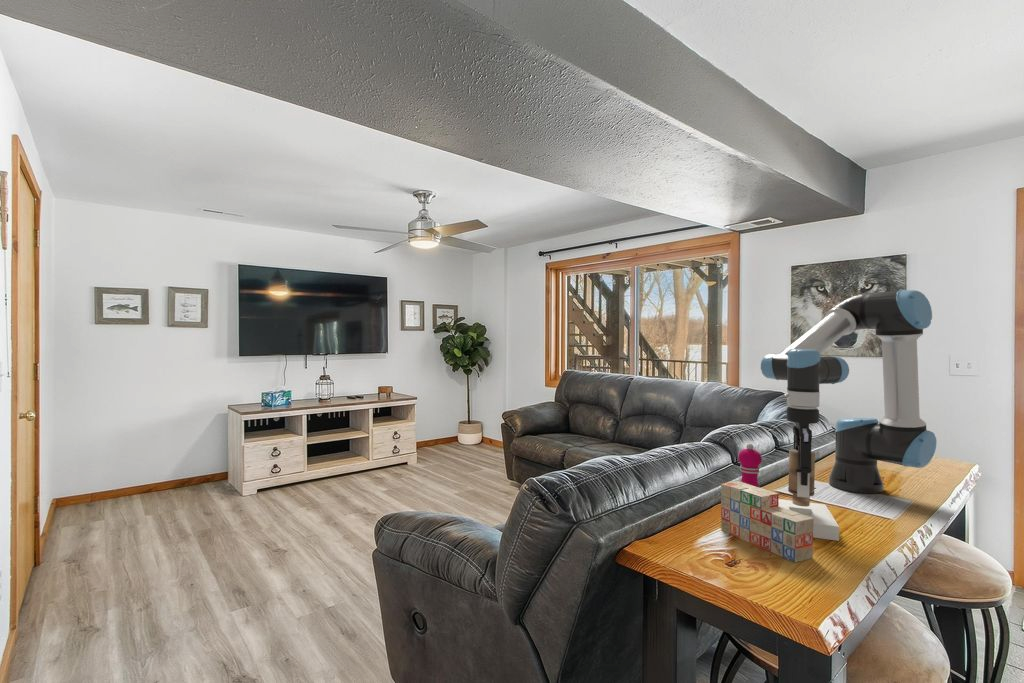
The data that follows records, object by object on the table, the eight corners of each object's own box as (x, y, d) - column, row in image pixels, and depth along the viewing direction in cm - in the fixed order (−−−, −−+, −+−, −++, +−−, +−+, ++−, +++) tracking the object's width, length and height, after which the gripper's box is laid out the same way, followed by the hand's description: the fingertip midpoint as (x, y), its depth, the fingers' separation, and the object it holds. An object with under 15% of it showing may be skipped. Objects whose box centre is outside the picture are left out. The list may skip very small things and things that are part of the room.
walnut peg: (812, 502, 137) (813, 450, 137) (816, 509, 132) (817, 455, 132) (786, 499, 140) (787, 448, 140) (789, 505, 134) (790, 453, 134)
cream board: (824, 516, 141) (825, 504, 141) (839, 540, 125) (839, 526, 125) (768, 510, 147) (769, 498, 147) (775, 532, 130) (775, 518, 130)
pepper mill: (766, 519, 139) (767, 447, 139) (738, 517, 140) (739, 445, 140) (759, 510, 146) (760, 441, 146) (732, 508, 148) (733, 440, 147)
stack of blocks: (813, 558, 115) (814, 504, 115) (794, 563, 112) (795, 508, 112) (737, 526, 135) (738, 479, 134) (720, 529, 132) (720, 482, 132)
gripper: (782, 402, 146) (781, 482, 146) (791, 410, 128) (789, 501, 128) (812, 403, 143) (811, 485, 143) (825, 412, 125) (824, 506, 125)
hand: (801, 493), depth 136 cm, fingers closed on walnut peg, 6 cm apart
